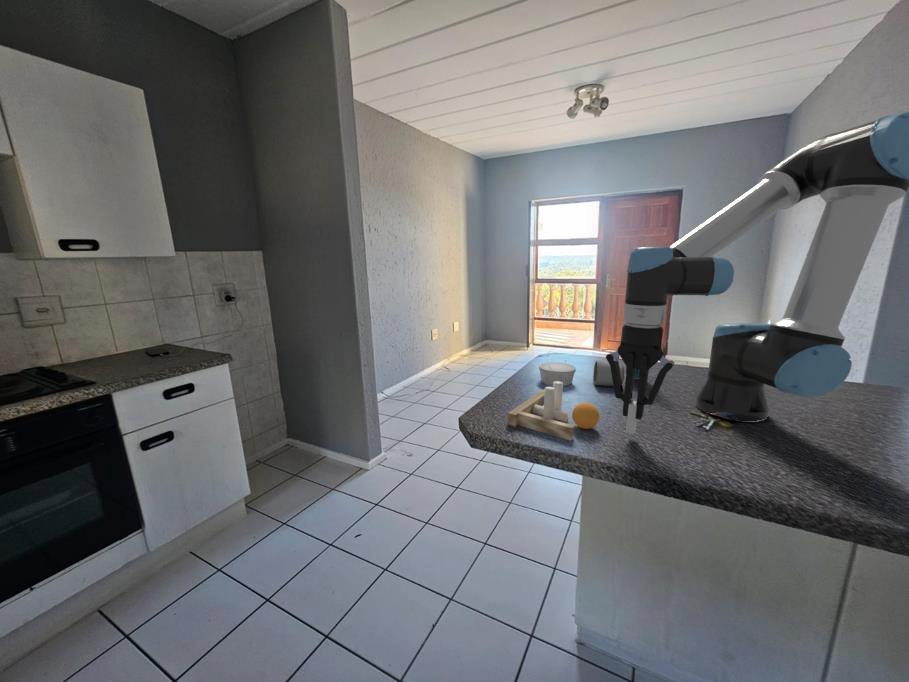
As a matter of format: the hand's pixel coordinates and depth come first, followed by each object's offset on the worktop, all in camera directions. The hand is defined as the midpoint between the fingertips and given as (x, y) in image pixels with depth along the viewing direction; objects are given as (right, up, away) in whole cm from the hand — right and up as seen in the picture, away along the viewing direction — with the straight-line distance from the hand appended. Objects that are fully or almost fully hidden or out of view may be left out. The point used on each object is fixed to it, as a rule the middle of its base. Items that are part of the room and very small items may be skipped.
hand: (630, 430), depth 80 cm
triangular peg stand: (-14, 0, +11) cm, 18 cm away
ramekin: (-6, +6, +38) cm, 39 cm away
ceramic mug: (+9, +6, +36) cm, 38 cm away
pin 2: (-13, +1, +13) cm, 18 cm away
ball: (-8, +2, +5) cm, 10 cm away
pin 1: (-16, 0, +9) cm, 18 cm away
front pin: (-11, +1, +9) cm, 14 cm away
